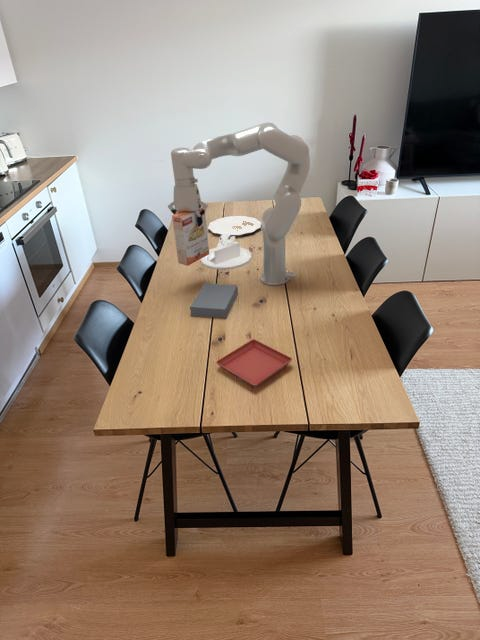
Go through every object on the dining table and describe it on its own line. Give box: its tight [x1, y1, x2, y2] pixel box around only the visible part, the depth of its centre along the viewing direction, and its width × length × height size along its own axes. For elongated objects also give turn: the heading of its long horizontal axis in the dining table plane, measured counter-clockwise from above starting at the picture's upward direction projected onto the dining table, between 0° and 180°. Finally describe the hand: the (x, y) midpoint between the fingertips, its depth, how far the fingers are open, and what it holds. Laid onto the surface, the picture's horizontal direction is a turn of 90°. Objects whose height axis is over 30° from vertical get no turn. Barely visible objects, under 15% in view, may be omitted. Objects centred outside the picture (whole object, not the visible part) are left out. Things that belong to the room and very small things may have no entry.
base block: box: [189, 282, 239, 319], centre depth 189 cm, size 14×20×4 cm
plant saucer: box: [215, 338, 293, 388], centre depth 153 cm, size 18×18×3 cm
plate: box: [207, 215, 262, 238], centre depth 261 cm, size 29×29×2 cm
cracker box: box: [171, 206, 210, 267], centre depth 194 cm, size 14×6×21 cm, turn 143°
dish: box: [199, 234, 252, 270], centre depth 225 cm, size 25×25×11 cm
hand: (190, 225), depth 191 cm, fingers closed on cracker box, 7 cm apart
